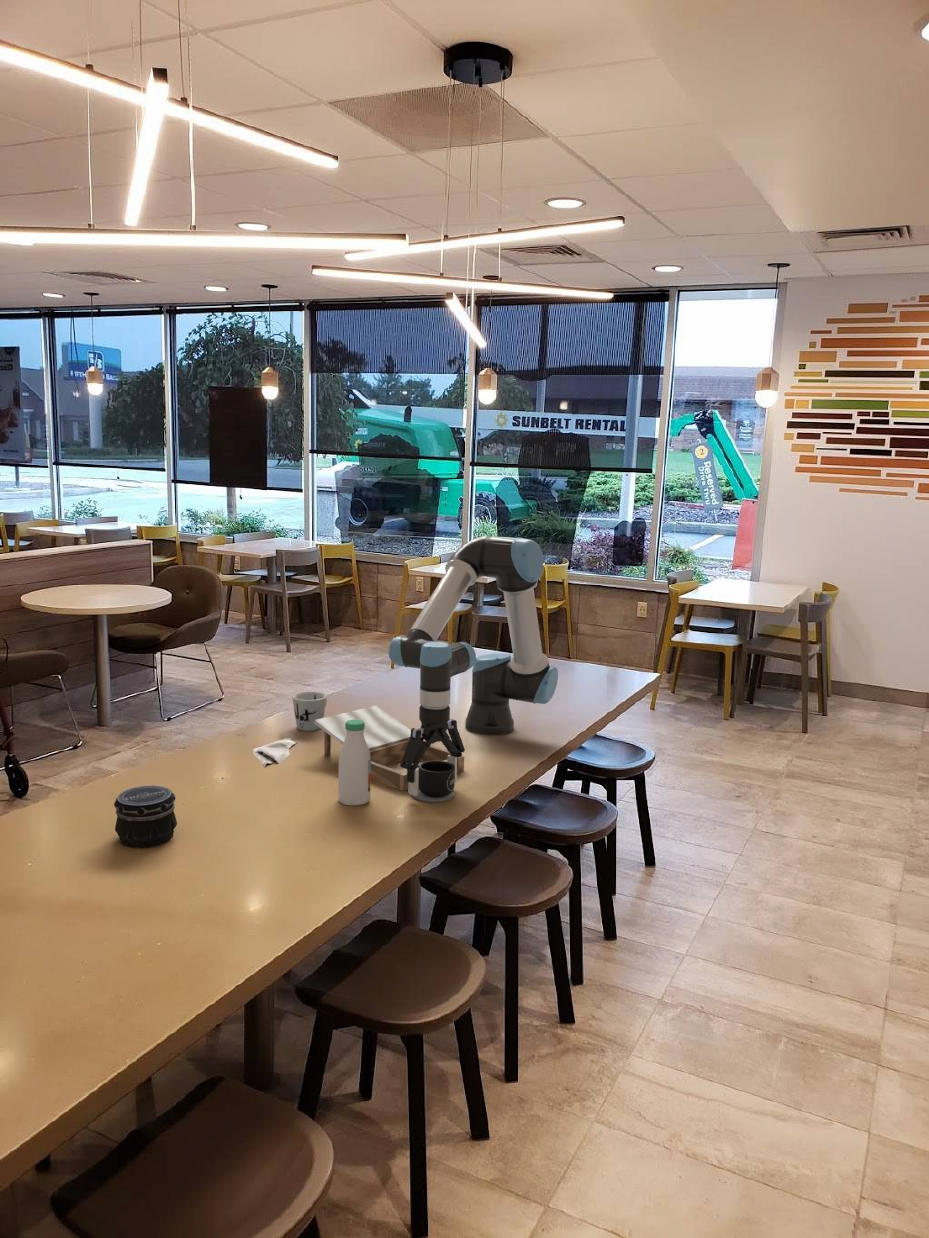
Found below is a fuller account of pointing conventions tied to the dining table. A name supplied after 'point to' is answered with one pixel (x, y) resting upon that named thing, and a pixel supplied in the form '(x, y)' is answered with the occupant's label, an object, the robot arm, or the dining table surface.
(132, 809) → the container
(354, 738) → the milk bottle
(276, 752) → the cloth
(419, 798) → the coaster
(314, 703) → the mug
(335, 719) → the box
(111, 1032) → the dining table surface
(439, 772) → the mug
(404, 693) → the dining table surface
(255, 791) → the dining table surface
